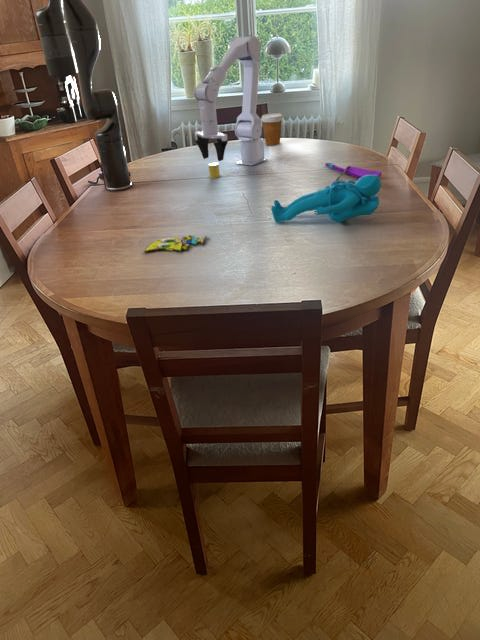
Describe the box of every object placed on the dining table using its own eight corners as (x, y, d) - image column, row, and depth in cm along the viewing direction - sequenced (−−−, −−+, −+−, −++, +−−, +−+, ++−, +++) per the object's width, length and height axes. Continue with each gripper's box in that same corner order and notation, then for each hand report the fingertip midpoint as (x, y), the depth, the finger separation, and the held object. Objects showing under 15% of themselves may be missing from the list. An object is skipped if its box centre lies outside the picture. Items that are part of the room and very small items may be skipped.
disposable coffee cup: (259, 145, 216) (257, 117, 209) (266, 140, 223) (265, 113, 216) (279, 146, 212) (278, 117, 206) (286, 140, 220) (285, 112, 213)
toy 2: (275, 189, 144) (378, 163, 133) (284, 222, 149) (384, 199, 138) (266, 210, 130) (379, 182, 120) (276, 245, 135) (386, 221, 125)
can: (214, 178, 179) (212, 166, 177) (207, 177, 182) (206, 164, 179) (221, 176, 181) (220, 163, 179) (215, 174, 184) (214, 162, 181)
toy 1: (199, 248, 125) (143, 249, 127) (199, 251, 125) (144, 252, 127) (206, 233, 133) (154, 234, 135) (206, 236, 133) (154, 237, 136)
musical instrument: (369, 191, 157) (389, 166, 169) (368, 185, 155) (389, 160, 168) (302, 188, 169) (326, 165, 182) (302, 182, 168) (325, 160, 180)
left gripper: (68, 55, 121) (84, 123, 129) (78, 52, 133) (92, 114, 141) (38, 58, 120) (56, 126, 129) (50, 54, 132) (66, 117, 141)
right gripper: (186, 121, 172) (192, 159, 180) (216, 124, 164) (220, 164, 171) (200, 117, 177) (205, 155, 184) (229, 119, 168) (233, 159, 176)
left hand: (75, 120), depth 135 cm, fingers open, 8 cm apart
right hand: (213, 159), depth 178 cm, fingers open, 7 cm apart
